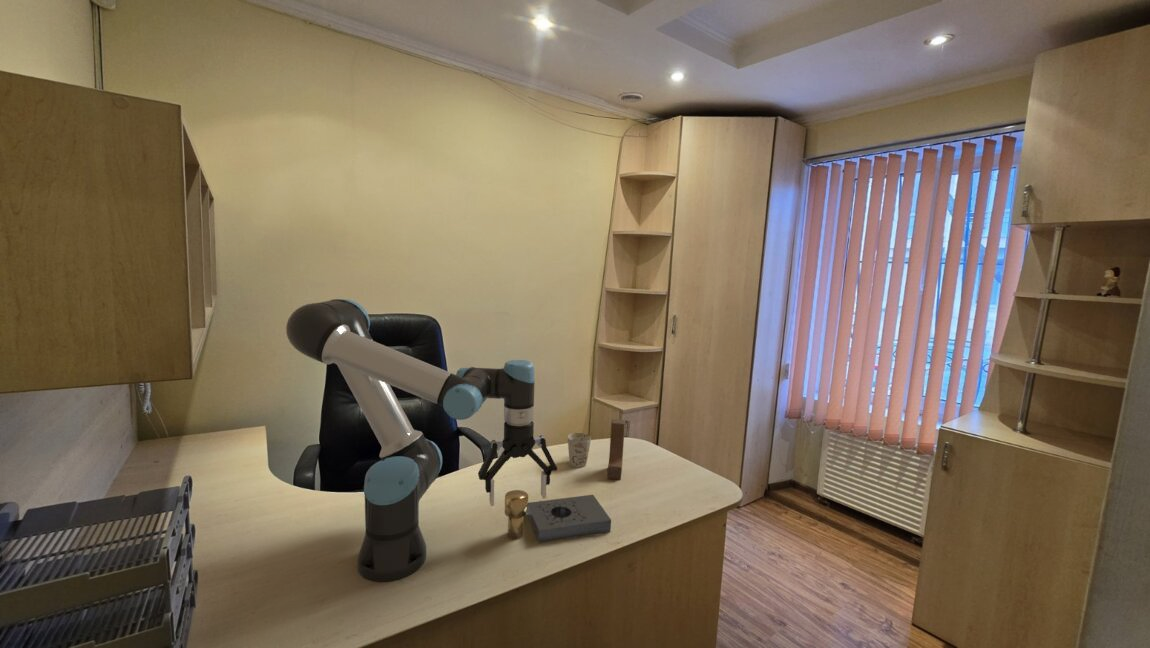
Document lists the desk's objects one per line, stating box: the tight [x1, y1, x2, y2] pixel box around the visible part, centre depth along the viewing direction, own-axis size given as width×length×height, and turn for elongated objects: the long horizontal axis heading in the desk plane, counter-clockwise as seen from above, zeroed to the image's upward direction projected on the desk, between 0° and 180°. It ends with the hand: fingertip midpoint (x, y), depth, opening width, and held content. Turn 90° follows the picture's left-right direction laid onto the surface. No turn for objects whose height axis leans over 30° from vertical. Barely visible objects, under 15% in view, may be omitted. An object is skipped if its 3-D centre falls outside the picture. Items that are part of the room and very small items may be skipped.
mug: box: [567, 432, 592, 468], centre depth 169 cm, size 8×13×10 cm, turn 171°
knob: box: [504, 489, 529, 540], centre depth 123 cm, size 6×6×11 cm
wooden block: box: [607, 418, 626, 480], centre depth 160 cm, size 9×4×18 cm, turn 172°
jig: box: [526, 494, 612, 544], centre depth 130 cm, size 20×14×4 cm
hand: (517, 499), depth 122 cm, fingers open, 13 cm apart
